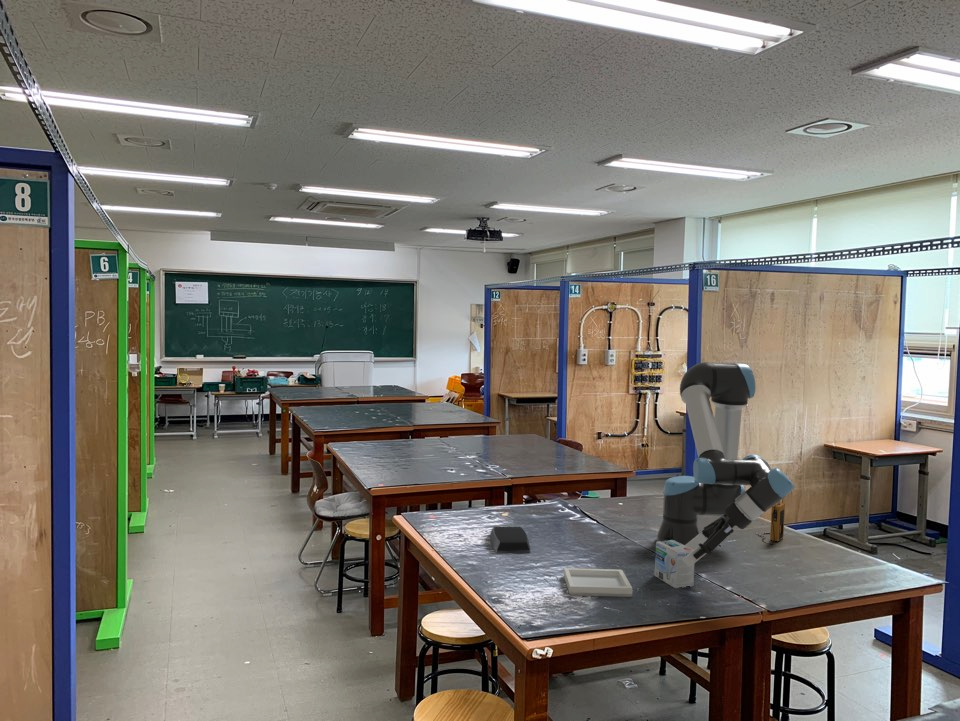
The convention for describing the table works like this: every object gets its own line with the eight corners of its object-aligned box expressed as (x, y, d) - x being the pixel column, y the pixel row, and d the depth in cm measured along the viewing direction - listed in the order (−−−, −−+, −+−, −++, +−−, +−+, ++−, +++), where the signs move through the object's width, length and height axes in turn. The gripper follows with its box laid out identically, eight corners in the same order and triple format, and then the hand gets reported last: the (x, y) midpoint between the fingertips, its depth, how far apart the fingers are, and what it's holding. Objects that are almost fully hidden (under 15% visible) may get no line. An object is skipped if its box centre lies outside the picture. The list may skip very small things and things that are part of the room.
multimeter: (758, 530, 254) (761, 478, 253) (786, 536, 247) (789, 482, 246) (745, 539, 242) (748, 484, 241) (774, 545, 236) (777, 489, 235)
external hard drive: (493, 554, 220) (493, 542, 220) (488, 536, 239) (488, 524, 239) (532, 554, 221) (532, 542, 221) (524, 536, 240) (524, 524, 240)
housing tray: (563, 576, 201) (564, 568, 200) (621, 577, 200) (621, 569, 200) (569, 595, 186) (570, 586, 186) (632, 597, 186) (632, 588, 186)
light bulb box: (653, 575, 203) (654, 541, 202) (671, 573, 205) (673, 539, 205) (675, 589, 193) (677, 552, 192) (694, 586, 195) (696, 550, 195)
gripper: (755, 533, 178) (694, 580, 184) (751, 510, 202) (697, 553, 207) (734, 511, 180) (675, 559, 185) (732, 491, 203) (680, 534, 209)
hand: (686, 556), depth 196 cm, fingers open, 13 cm apart
